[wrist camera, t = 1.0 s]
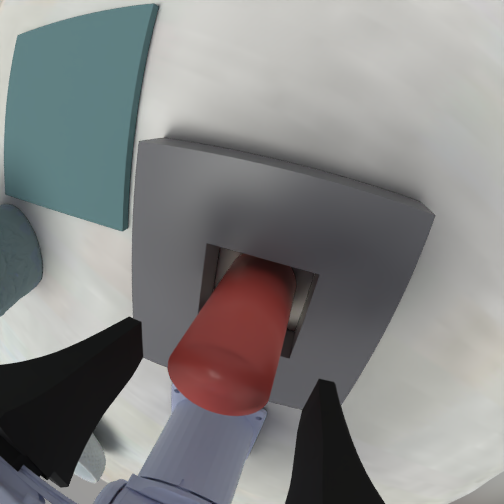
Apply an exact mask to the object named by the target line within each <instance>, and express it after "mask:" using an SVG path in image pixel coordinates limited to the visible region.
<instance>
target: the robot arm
mask: <svg viewBox="0 0 504 504" xmlns="http://www.w3.org/2000/svg"><path fill="white" fill-rule="evenodd" d="M142 358H143V342H142V322H141V321H138V320H136V319H133V318H131V317H128V318H126V319H124V320H122V321H120V322H118V323H116V324H114V325H112V326H111V327H109V328H107V329H105V330H103V331H101V332H99V333H97V334H95V335H93V336H91V337H89V338H87V339H85V340H83V341H81V342H79V343H77V344H74V345H72V346H70V347H68V348H65V349H63V350H60V351H58V352H55V353H52V354H49V355H46V356H43V357H39V358H35V359H31V360H27V361H23V362H17V363H12V364H4V365H0V504H45V500H44V498H45V499H46V500H48V501H49V502H50V503H52V504H77V503H75V502H74V501H72V500H71V499H69V498H68V497H66V496H65V495H63V494H62V493H60V492H59V491H57V490H56V489H55V488H53V487H52V486H50V485H49V484H48V483H46V482H45V481H44V480H42V479H41V478H40V475H41V476H42V477H43V478H45V479H46V480H48V479H50V480H51V481H52V482H54V483H55V484H57V485H58V486H59V487H68V486H69V484H70V481H71V478H72V476H73V473H74V471H75V468H76V466H77V463H78V461H79V459H80V457H81V455H82V453H83V450H84V448H85V446H86V444H87V442H88V441H89V439H90V437H91V435H92V433H93V431H94V429H95V428H96V426H97V424H98V422H99V421H100V419H101V417H102V416H103V414H104V413H105V412H106V410H107V409H108V408H109V406H110V405H111V404H112V402H113V401H114V400H115V398H116V397H117V396H118V394H119V393H120V392H121V390H122V389H123V388H124V387H125V385H126V384H127V383H128V381H129V380H130V379H131V377H132V376H133V374H134V372H135V371H136V369H137V367H138V365H139V364H140V362H141V360H142ZM266 415H267V411H266V410H264V409H261V410H259V411H257V412H255V413H252V414H249V415H244V416H228V415H222V414H217V413H214V412H211V411H208V410H206V409H203V408H201V407H199V406H198V405H196V404H194V403H193V402H191V401H190V400H188V399H187V398H186V397H185V396H184V395H183V394H181V393H180V391H179V390H178V389H177V388H176V387H175V385H174V384H173V383H172V414H171V416H170V418H169V420H168V422H167V424H166V425H165V427H164V429H163V431H162V433H161V434H160V436H159V438H158V440H157V442H156V444H155V445H154V447H153V449H152V451H151V453H150V454H149V456H148V458H147V460H146V462H145V463H144V465H143V467H142V469H141V471H140V472H139V474H138V476H137V475H135V474H132V475H131V477H130V479H129V481H126V480H124V479H119V480H117V481H113V482H110V483H109V484H107V485H106V486H105V487H104V488H103V490H102V491H101V492H100V493H99V495H98V496H97V498H96V499H95V501H94V503H93V504H231V502H232V499H233V497H234V494H235V491H236V488H237V485H238V481H239V478H240V475H241V472H242V469H243V466H244V463H245V460H246V459H247V458H248V456H249V454H250V452H251V449H252V447H253V445H254V443H255V441H256V438H257V436H258V434H259V432H260V430H261V427H262V425H263V423H264V420H265V418H266ZM43 497H44V498H43ZM285 504H385V503H384V501H383V500H382V498H381V496H380V495H379V493H378V492H377V490H376V489H375V487H374V486H373V484H372V482H371V480H370V478H369V477H368V475H367V473H366V471H365V469H364V467H363V465H362V463H361V461H360V458H359V456H358V454H357V452H356V449H355V447H354V444H353V441H352V439H351V436H350V433H349V430H348V427H347V424H346V421H345V418H344V415H343V411H342V408H341V404H340V401H339V397H338V393H337V388H336V384H335V383H334V382H332V381H328V380H323V379H318V381H317V383H316V385H315V387H314V389H313V391H312V393H311V395H310V396H309V398H308V400H307V402H306V404H305V406H304V407H303V410H302V414H301V418H300V422H299V427H298V431H297V439H296V447H295V455H294V463H293V470H292V478H291V483H290V488H289V492H288V495H287V499H286V502H285Z"/></svg>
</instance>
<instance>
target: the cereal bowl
mask: <svg viewBox="0 0 504 504" xmlns="http://www.w3.org/2000/svg"><path fill="white" fill-rule="evenodd" d="M105 465H106V459H105V453H104V451H103V448H102V446H101V444H100V443H99V441H98V440H97V438H96V437H95V436H94V434H93V433H92V435H91V437H90V439H89V441H88V442H87V444H86V446H85V448H84V450H83V453H82V455H81V457H80V459H79V461H78V463H77V466H76V468H75V471H74V473H73V474H75V475H77V476H79V477H80V478H82V479H84V480H86V481H88V482H91V483H97V482H98V481H99V479H100V477H101V476H102V474H103V472H104V469H105Z"/></svg>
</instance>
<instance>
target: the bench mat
mask: <svg viewBox="0 0 504 504" xmlns="http://www.w3.org/2000/svg"><path fill="white" fill-rule="evenodd" d="M158 8H159V6H157V5H156V4H144V5H136V6H129V7H122V8H116V9H111V10H105V11H100V12H95V13H91V14H86V15H82V16H78V17H74V18H70V19H66V20H62V21H59V22H56V23H52V24H49V25H46V26H43V27H40V28H37V29H34V30H31V31H28V32H25V33H22V34H20V35H18V36H17V40H16V45H15V50H14V55H13V60H12V66H11V72H10V79H9V86H8V94H7V104H6V116H5V135H4V176H5V195H9V196H12V197H15V198H18V199H21V200H24V201H27V202H30V203H33V204H36V205H39V206H43V207H46V208H49V209H52V210H55V211H58V212H61V213H65V214H68V215H71V216H74V217H77V218H80V219H84V220H87V221H90V222H93V223H97V224H100V225H103V226H106V227H110V228H113V229H116V230H119V231H124V230H126V229H127V228H128V207H129V189H130V175H131V163H132V152H133V143H134V134H135V126H136V118H137V111H138V104H139V98H140V91H141V86H142V80H143V74H144V69H145V64H146V59H147V54H148V49H149V45H150V40H151V36H152V31H153V27H154V23H155V19H156V15H157V12H158Z"/></svg>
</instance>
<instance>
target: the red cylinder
mask: <svg viewBox="0 0 504 504" xmlns="http://www.w3.org/2000/svg"><path fill="white" fill-rule="evenodd" d="M295 290H296V279H295V275H294V273H293V271H292V269H291V267H290V266H287V265H283V264H280V263H276V262H273V261H269V260H265V259H262V258H258V257H255V256H251V255H248V254H242V255H240V256H239V257H238V258H237V259H235V261H234V262H233V263H232V265H231V266H230V268H229V269H228V270H227V272H226V273H225V275H224V276H223V278H222V279H221V281H220V282H219V284H218V285H217V287H216V288H215V290H214V291H213V293H212V294H211V296H210V297H209V299H208V300H207V302H206V303H205V304H204V306H203V307H202V309H201V310H200V312H199V313H198V315H197V316H196V318H195V319H194V321H193V322H192V324H191V325H190V327H189V328H188V330H187V331H186V333H185V334H184V336H183V337H182V339H181V340H180V342H179V343H178V345H177V346H176V348H175V349H174V351H173V352H172V354H171V355H170V357H169V360H168V372H169V376H170V378H171V380H172V382H173V384H174V385H175V387H176V388H177V389H178V390H179V391H180V393H181V394H183V395H184V396H185V397H186V398H187V399H188V400H190V401H191V402H193V403H194V404H196V405H198V406H199V407H201V408H203V409H206V410H208V411H211V412H214V413H217V414H222V415H228V416H244V415H249V414H252V413H255V412H257V411H259V410H261V409H262V408H263V407H264V406H265V405H266V404H267V402H268V400H269V397H270V394H271V390H272V386H273V382H274V378H275V375H276V371H277V367H278V363H279V359H280V355H281V350H282V346H283V342H284V338H285V334H286V330H287V325H288V321H289V317H290V312H291V308H292V303H293V299H294V294H295Z"/></svg>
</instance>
